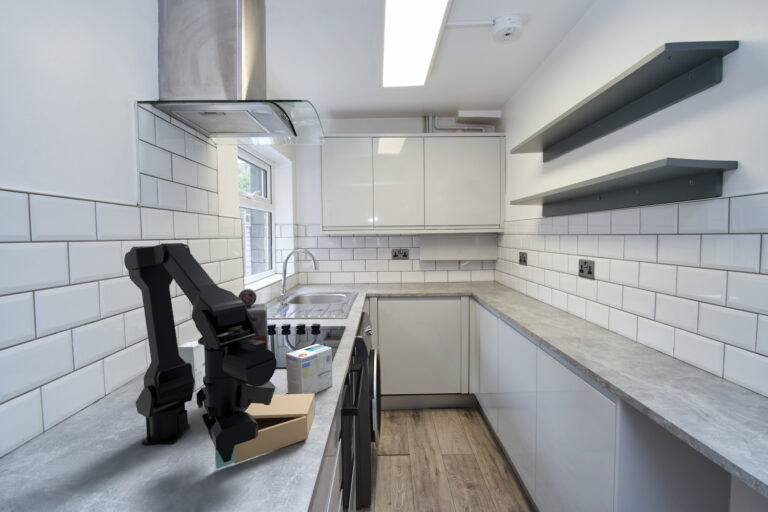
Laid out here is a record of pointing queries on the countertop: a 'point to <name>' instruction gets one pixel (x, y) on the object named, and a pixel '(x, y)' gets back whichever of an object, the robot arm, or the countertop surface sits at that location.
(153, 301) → the robot arm
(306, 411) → the kraft carton
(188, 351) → the skincare box
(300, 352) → the light bulb box
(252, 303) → the toy vending machine
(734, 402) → the countertop surface
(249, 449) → the carton flap
